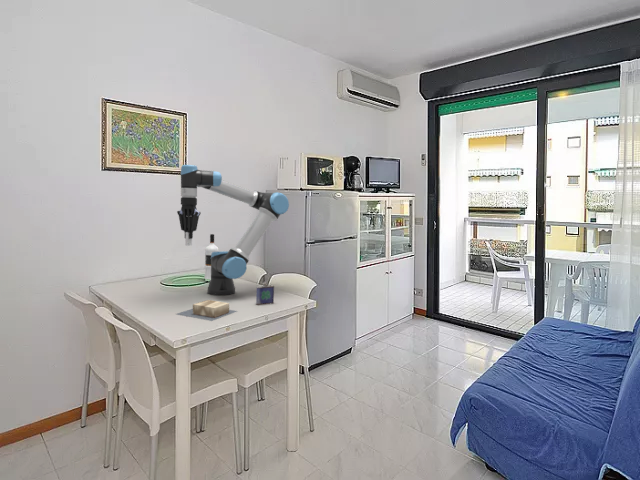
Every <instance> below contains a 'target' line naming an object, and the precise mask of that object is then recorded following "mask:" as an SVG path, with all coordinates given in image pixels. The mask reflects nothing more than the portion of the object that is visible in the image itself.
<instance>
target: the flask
mask: <svg viewBox="0 0 640 480" xmlns="http://www.w3.org/2000/svg"><path fill="white" fill-rule="evenodd" d="M274 291H275V286H274V285H272V284H267V282H263V285H261V286H256V300H255V304H256V305H257V306H261V305H270V303H273V304H274V302H275V301H274V296H275V295H274V294H275V292H274Z"/></svg>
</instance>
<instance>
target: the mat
mask: <svg viewBox="0 0 640 480" xmlns="http://www.w3.org/2000/svg"><path fill="white" fill-rule="evenodd" d="M237 312H238V311H237V310H234V309H229V313H226V314H224V315H221V316H218V317H215V318H213V317H207V316H202V315H196V314H193V308H191V309H187V310H184V311H181V312H177V313H176V315H177V316H182V317H183V316H184V317H186V318H187V317H188V318H193V319H199V320H205V321H209V322H212V321H216V320H219V319H221V318H224V317H226V316H229V315H231V314H232V315H233V314H234V313H237Z"/></svg>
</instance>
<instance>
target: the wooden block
mask: <svg viewBox="0 0 640 480" xmlns="http://www.w3.org/2000/svg"><path fill="white" fill-rule="evenodd" d="M192 309H193V314H196V315H202V316H207V317H213V318H215V317H218V316H221V315H224V314H226V313H229V310H230V302H224V301H218V300H212V299H206V300H204V301H200V302H196V303H193V304H192Z"/></svg>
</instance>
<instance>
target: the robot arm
mask: <svg viewBox="0 0 640 480" xmlns="http://www.w3.org/2000/svg"><path fill="white" fill-rule="evenodd" d="M222 177H223V176H222V174H221V172H220V171H214V170H213V171H212V170H202V169H201V170H200V169H198V165H196V164H195V165H194V164H183V165H181V167H180V196H181V197H180V205H181V207H180V209H179V210H177V211H176V213H177V215H178V219H179V225H180V230H181V231H183V233H184V239H185V246H187V247H188V246H192V245H193V237H194V232H196V231H197V229H198V222H199V218H200V216H201V211H199V210H197V204H198V199H197V197H198V188H203V189H205V190H209V191H212V192H214V193H217V194H220V195H222V196H225V197H227V198H231V199H234V200H236V201H239V202H241V203H242V202H243V203H245V204H248V207H251V208H253V209H256V210H257V211H259V213H257V215H256V217H255V219H253V221H252V222H251V224H250V226H249V227H248V228H247V230H246V231H245V233H244V234H243V235H242V236H241V238H240V239H239V241H238V243H237V244H236V245H235V247H231V248H230V249H229V250H226V251H225V250H224V251H219V252H212V254H211V280H210V282H208V286H207V288H206V289H207V294H209V295H212V296H225V295H226V296H229V295H231V294H232V295H233V294H235V293H236V285H235V282H234V280H236V279H240V278H241V277H243V276H244V275H245V273H246V272H247V264H248V263H249V261H250V258H249V257H250V255H251V254H252V252H253V251H254V249H255V248H256V247H257V245H258V243H259V242H260V240H261V239H262V237H263V236H264V235H265V233H266V232H267V230H268V229H269V228H270V226H271V225H272V223H273V222H274V221H278V219H279V217H280V216H281V215H284V214H286V212H287V211H288V210H289V207H290V204H289V203H290V202H289V198H288V197H287V195H285V194H284V193H281V192H278V191H277V192H261V191H259V190H258V191H257V190H250V189H247V188H245V187H243V186H239V185H236V184H234V183H232V182H229V181H226V180H223V178H222Z"/></svg>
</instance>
